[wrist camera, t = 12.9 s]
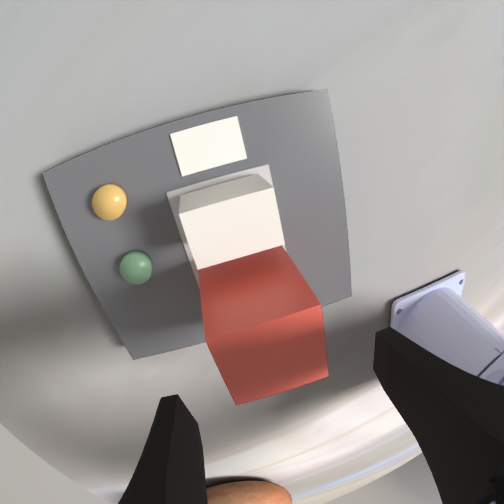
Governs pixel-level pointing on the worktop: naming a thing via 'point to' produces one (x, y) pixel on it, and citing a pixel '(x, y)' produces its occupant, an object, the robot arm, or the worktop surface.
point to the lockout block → (262, 325)
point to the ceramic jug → (248, 493)
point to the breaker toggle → (231, 220)
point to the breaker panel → (188, 180)
